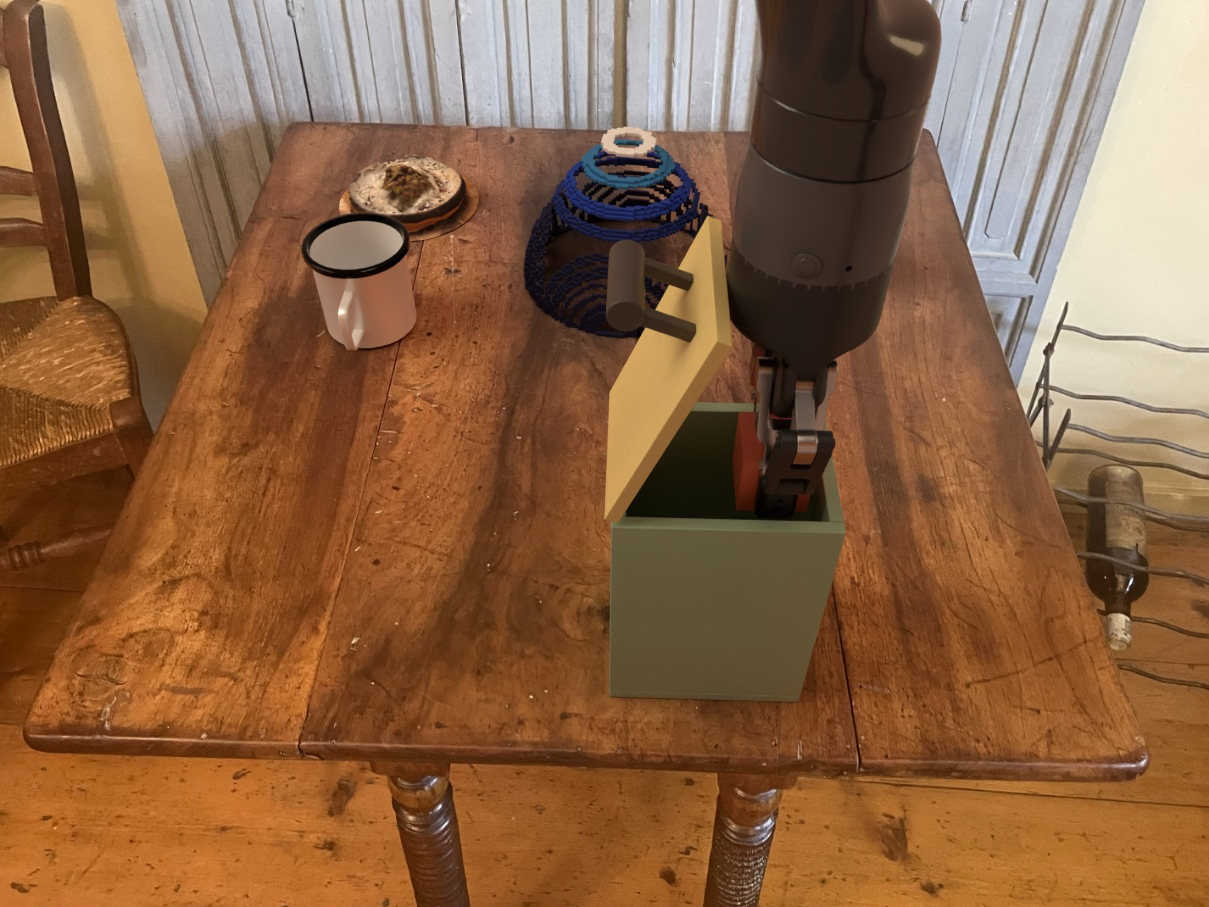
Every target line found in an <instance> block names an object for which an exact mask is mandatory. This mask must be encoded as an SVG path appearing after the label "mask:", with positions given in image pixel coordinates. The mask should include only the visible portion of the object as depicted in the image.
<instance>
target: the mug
mask: <svg viewBox="0 0 1209 907" xmlns="http://www.w3.org/2000/svg"><path fill="white" fill-rule="evenodd" d="M411 243H412V241H410V236H409V233H408V231H407V229H406V227H405V226H404V225H403V224H402V223H401V222H399V221H398V220H396V219H394V218H392V217H389V216H387V215H383V214H378V213H370V212H357V213H349V214H344V215H341V214H340V215H336V216H333V217H332V218H328V219H326V220H324V221H321V222H320V223H318V224H317V225H316V226H314V227H313V228H311V229H310V231H308V232H307V234H306V235H305V236H304V238H303V239H302V243H301V245H300V249H301V257H302V259H303V261H304V263H305V265H306V266H308V268H310V269H311V270H312V272H313V277H314V281H315V285H316V288H317V293H318V296H319V300H320V305H321V309H322V312H323V317H324V321H325V324H326V328H327V331H328V333H329V335H330V336H331V337H332V338H333V339H334V340H335V341H337V342H338V343H340V344H342V345H344V347H345V349H346V351H357V350H358V349H374V348H379V347H384V346H388V345H390V344H393V343H395V342H398V341H399V340H401V339H402V338H404V337H405V336H406V335H407V334H409V333H410V332H411V331H412V329H413V328H414V326H415V325H416V322H417V319H418V314H417V309H416V303H415V297H414V292H413V286H412V280H411V275H410V267H409V263H408V257H407V254H408V252H409V251H410V248H411Z"/></svg>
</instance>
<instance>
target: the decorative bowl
mask: <svg viewBox="0 0 1209 907" xmlns="http://www.w3.org/2000/svg"><path fill="white" fill-rule="evenodd" d="M625 136H627V137H638V138H639V139H640V140H637V139H624V137H625ZM619 137H622V138H619ZM656 143H657V137H654V136H653V132H652V131H646V130H644V129H642V127H633V126H623V127H617V128H611V129H607V132H606V133H603V135H602V138H601V141H600V144H597V143H596V144H595V145H594V146H591V148H590V150H587V151H586V154H583V155H582V156H581V159H580V160H578V162H577V163H574V165H572V167H570V169H568V170H567V172H566V175H565V178H563V179H562V180H561V181H560V183H558V184H557V185H556V187H555V189H554V190H555V191H554V193H553V195H552V197H551V199H550V201H548V202H547V203H546V206H545V205H544V206H543V208H542V210H541V212H540V214H539V218H536V219H535V222H534V224H532V228H531V234H530V236H529V239H528V242H527V245H526V248H525V250H524V251H525V252H524V262H523V277H524V285H525V287H524V288H525V290H527V292H528V295H529V296H530V299H532V301H534V303H536V306H537V307H538V308H539V309H542V312H543V313H544V314H545V315H549V317H552V319H554V321H559V323H562V324H564V325H566V327H567V328H574V329H575V328H577V330H578V331H585V332H584V333H587V334H595V336H598V337H608V338H618V339H625V338H626V337H627V338H637V337H641V335H642V333H643V331H644V330H645V329H644V327H642V326H639V327H638V328H636V329H634V330H631V331H614V330H607V329H606V330H605V329H598V328H600V327H601V326H603V325H604V324H606V322H608V321H607V319H606V304H607V302H606V303H605V302H597V304H594V306H591V308H585V312H583V313H582V314H580V316H579V323H574V317H576V315H579V311H581V310H582V309H584V307H587V305H590V303H595V302H596V301H598V300H599V299H603V300H607V292H606V293H605V294H604V293H592V292H591V290H596V289H597V288H600V289H602V288H603V290H604V291H607V285H606V284H607V283H608V281H607V282H606V284H605V283H602V282H601V283H600V282H599V281H600V279H602V280H603V279H604V280H608V266H605V265H608V263H609V255H604V254H603V253H601V252H592V254H587V253H584V254H583V256H582V255H575V258H574V259H570V260H569V263H566V264H563V266H561V268H560V270H556V271H555V272H553V273H552V274H550V276H549V279H550V280H549V281H548V282H547V283H545V282H546V280H545V279H546V278H545V273H546V268H545V267H546V264H547V262H546V260H547V259H545V258H544V257H545V256H547V252H548V247H547V245H548V242H551V241H552V238H553V237H554V238H558V235H562V234H564V233H567V232H570V230H573V231H577V233H579V235H584V237H591V238H593V239H597V240H601V241H602V242H610V243H617V242H619V241H622V240H632V241H635V242H637V243H638V244H640V243H641V242H647V243H650V242H651V241H657V240H660V239H666V238H669V237H670V236H673V235H676V233H680V232H684V233H685V234H688V235H691V237H693V240H694V239H695V238H696V236H697V234H698V232H699V230H700V229H701V227H702V225H703V223H704V221H705V220H706V218H707V216H710V217H713V218H715V219H716V217H715V216H714V214H712V213H711V214H710V213H709V205H708V204H704V203H703V202H700V198H701V191H699V187H697V182H694V178H691V177H689V173H688V172H686V171H687V170H686V169H685V168H684V167H682V163H679V162H678V161H674V157H672V154H670V152H669V151H667V149H665V148H663V147H662V146H660V144H656ZM619 146H632V147H633V148H632V147H619ZM638 157H639V158H638ZM640 157H642V158H640ZM643 157H646V158H643ZM605 158H606V159H605ZM652 158H653V159H652ZM610 165H611V166H614V167H616V168H617V167H618V166H621V167H626V165H627V166H639V167H646V168H647V169H655V170H654V171H652V172H651V171H644V170H643V171H641V170H630V169H624V170H623V171H615V172H605V171H604V170H602V169H600V167H603V166H604V167H605V166H606V167H609V166H610ZM580 173H583V174H585V178H587V179H589V180H590V181H591V182H588V181H587V182H586V184H584V185H583V188H581V190H579V187H577V185H578V180H576V179H577V177H579V175H580ZM671 175H675V177H677V179H679V183H680V182H681V183H682V184H679V185H675V183H673V182H672V180H669V179H667V178H668V177H671ZM603 188H606V189H605V190H604V191H603V192H602V194H601V193H600V194H599V195H598V196H597V200H595V199H593V196H594V197H595V195H596V194H598V193H599V192H600V191H601V190H603ZM641 189H648V190H641ZM650 189H651V190H653V192H657V193H658V194H659V195H663V197H664V199H662V198H660V196H656V195H655V193H650ZM619 190H624V191H623V192H622V193H621V192H619V193H618V194H616V195H615V196H613V198H612V199H610V200H608V204H604V200H606V199H607V198H609V196H611V195H612V194H614V191H619ZM589 191H590V192H589ZM691 193H692V194H693V197H692V198H690V196H691ZM627 196H630V197H627ZM631 196H632V197H631ZM634 197H641V198H634ZM625 198H626V199H625ZM646 198H648V199H646ZM568 200H569V201H568ZM622 200H623V201H622ZM650 200H652V201H650ZM617 202H621V203H619V204H618V206H617ZM569 203H570V204H571V206H569V205H570V204H569ZM682 207H683V208H685V209H682ZM577 210H579V212H578V215H576V213H577ZM698 210H701V211H700V213H699V211H698ZM580 211H581V212H580ZM672 212H673V213H675V217H676V218H677V219H673V220H672ZM662 217H665V219H662ZM558 218H559V219H558ZM559 220H560V223H561V224H559ZM604 220H605V221H614V222H615V221H622V222H634V221H639V222H640V221H641V222H643V221H645V222H650V223H652V224H657V227H650V226H649V227H648V228H641V229H635V230H625V229H615V228H604V227H602V226H601V225H596V223H598V222H599V221H600V222H604ZM694 220H697V224H696V230H695V228H693V226H694ZM687 224H689V229H688V228H686V227H687ZM724 243H725V242H724V241H723V244H724ZM724 257H725V268H726V269H727V265H728V264H727V263H728V254H724ZM596 262H599V263H600V264H603V265H597V266H596V267H591V269H590V270H589V271H588V270H587V269H586V268H589V267H590V266H595V265H596ZM573 265H574V266H573ZM584 267H585V268H584ZM576 269H577V271H576ZM579 269H580V270H579ZM543 274H544V275H543ZM564 278H565V279H564ZM653 280H654V279H651V278H648V277H645V303H647V305H649V308H651V309H654V310H656V308H657V306H658V304H657V302H660V301H661V299H662V297H663V295H664V293H665V292H666V290H665V289H664V288H666V289H667V288H668V286H669V285H668V284H665V283H663V287H664V288H662V282H660V281H657V280H654V281H655V283H654V284H653ZM583 281H584V282H585V283H589V284H586V286H585V285H583ZM592 281H596V282H592ZM597 281H598V282H597ZM559 282H562V283H560V284H559ZM656 282H657V283H656ZM577 287H578V289H576V288H577ZM574 289H576V290H575V292H572V294H570V295H569V293H571V291H574ZM585 292H591V295H588V297H587V296H583V297H582V298H581V299H579V300H578V301H577V302H575V303H574V304H573V305H571V302H574V298H579V297H580V296H582V294H585ZM647 293H648V294H650V296H653V299H656V301H657V302H652V298H651V297H649V295H648V294H647ZM566 295H569V296H567V297H566ZM563 302H564V307H562V308H561V313H559V312H558V310H559V308H560V307H561V304H563ZM569 306H571V311H569V313H568V317H569V318H566V310H568V309H569Z"/></svg>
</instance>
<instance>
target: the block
mask: <svg viewBox="0 0 1209 907" xmlns="http://www.w3.org/2000/svg"><path fill="white" fill-rule="evenodd" d="M755 414H756V412H739V415H738V422H737V430H736V437H735V444H734V451H733V458H732V463H733V475H734V488H735V500H736V510H744V511H755V509H754V501H755V495H756V489H757V483H758V477H759V472H760V470H758V461H760V457H761V447H762V442H760V441H759V440H758V438H757V434H756V429H755ZM769 418H772V419H792V418H779V417H776V416H775V415H774V414H769ZM809 499H810V495H798V498H797V503H796V507H795V512H807V508H808V503H809Z"/></svg>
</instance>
